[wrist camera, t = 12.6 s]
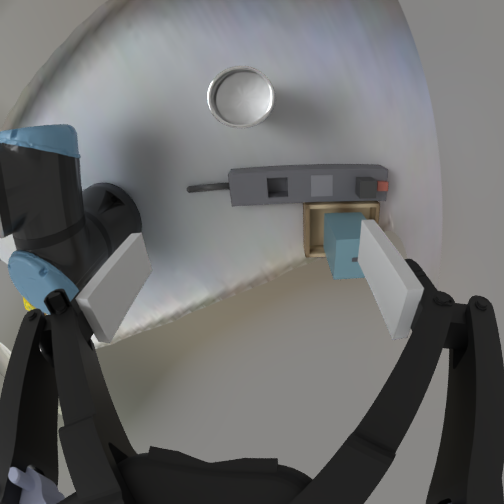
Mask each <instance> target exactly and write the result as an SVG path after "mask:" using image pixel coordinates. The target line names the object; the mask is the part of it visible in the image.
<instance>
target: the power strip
mask: <svg viewBox="0 0 504 504" xmlns="http://www.w3.org/2000/svg"><path fill="white" fill-rule="evenodd" d="M228 179H229V183H218V184H208V185H198V186H189V187H188V188H187V191H188V192H189V193H190V192H200V191H210V190H221V189H230V195H231V203H232V206H246V205H262V204H280V203H302V202H330V201H386V194H387V191H388V182H387V179H388V169H386V168H384V167H383V166H381V165H369V164H316V165H286V166H268V167H253V168H240V169H231V170H230V172H229V174H228Z"/></svg>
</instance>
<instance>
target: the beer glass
mask: <svg viewBox="0 0 504 504" xmlns="http://www.w3.org/2000/svg"><path fill="white" fill-rule="evenodd" d="M275 102H276V95H275V90H274V87H273V85H272V83H271V82H270V80H269V79H268V78H267V77H266V76H265V75H264V74H263V73H262V72H260V71H259V70H257V69H255V68H252V67H248V66H235V67H230V68H228V69H225V70H224V71H222V72H220V73H219V74H218V75H217V76H216V77H215V78H214V79H213V81H212V82H211V84H210V86H209V89H208V93H207V103H208V107H209V109H210V111H211V113H212V114H213V116H214V117H215V118H216V119H217V120H218V121H219V122H221V123H222V124H224V125H226V126H229V127H233V128H250V127H254V126H256V125H258V124H260V123H262V122H263V121H265V120H266V119H267V118H268V117H269V116H270V114H271V113H272V111H273V109H274V106H275Z"/></svg>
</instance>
